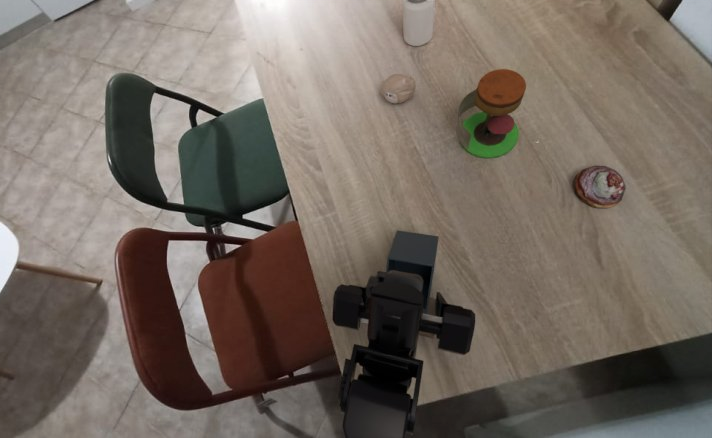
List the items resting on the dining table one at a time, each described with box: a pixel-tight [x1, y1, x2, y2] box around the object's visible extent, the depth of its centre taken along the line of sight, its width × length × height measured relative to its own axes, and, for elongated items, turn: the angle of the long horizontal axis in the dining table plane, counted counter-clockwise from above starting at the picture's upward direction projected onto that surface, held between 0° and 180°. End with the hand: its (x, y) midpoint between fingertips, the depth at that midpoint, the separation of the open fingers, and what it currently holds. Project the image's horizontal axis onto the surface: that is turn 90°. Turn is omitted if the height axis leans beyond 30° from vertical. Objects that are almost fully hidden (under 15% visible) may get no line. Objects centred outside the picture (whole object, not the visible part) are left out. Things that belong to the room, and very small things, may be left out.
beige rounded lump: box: [380, 73, 416, 104], centre depth 93 cm, size 7×6×8 cm
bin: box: [385, 229, 440, 314], centre depth 74 cm, size 14×7×14 cm, turn 164°
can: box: [402, 0, 436, 47], centre depth 96 cm, size 6×6×12 cm
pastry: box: [573, 165, 626, 209], centre depth 75 cm, size 8×8×5 cm
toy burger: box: [455, 68, 527, 159], centre depth 80 cm, size 12×13×15 cm
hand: (406, 288), depth 69 cm, fingers open, 9 cm apart
